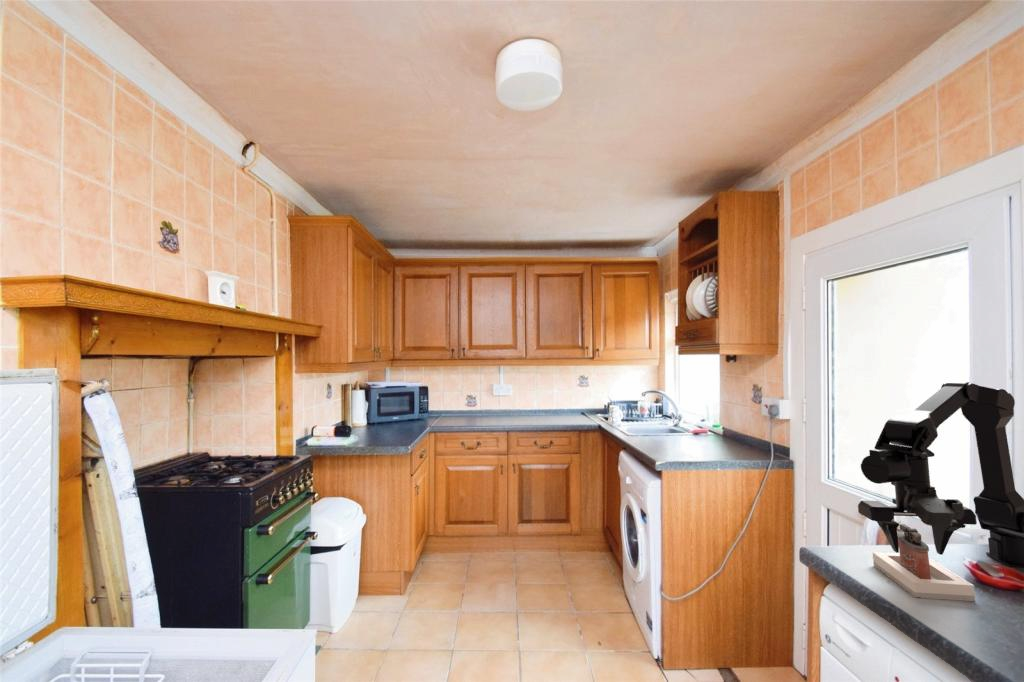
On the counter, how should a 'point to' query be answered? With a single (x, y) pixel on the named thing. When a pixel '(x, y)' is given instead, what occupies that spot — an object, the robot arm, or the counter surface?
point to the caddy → (937, 588)
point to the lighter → (913, 552)
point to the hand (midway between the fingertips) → (917, 552)
